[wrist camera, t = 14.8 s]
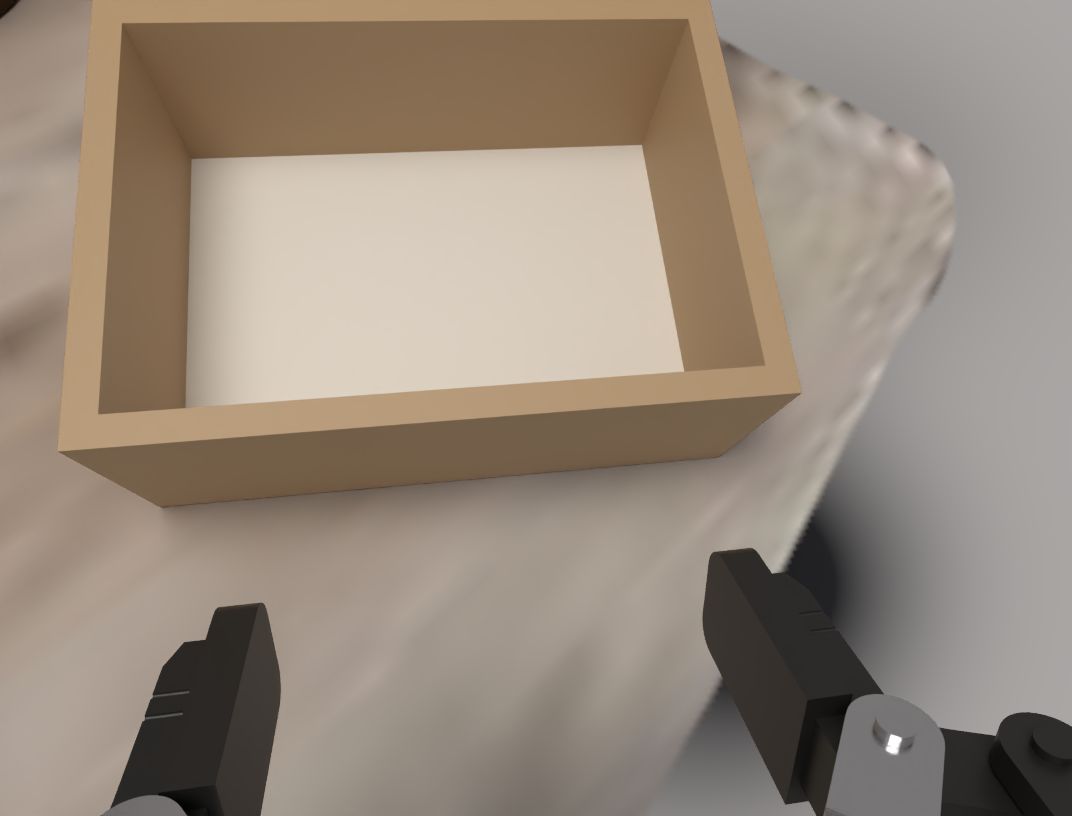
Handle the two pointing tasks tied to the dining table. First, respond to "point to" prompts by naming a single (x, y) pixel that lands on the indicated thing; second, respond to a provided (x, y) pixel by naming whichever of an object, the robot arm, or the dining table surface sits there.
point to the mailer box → (411, 246)
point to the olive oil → (5, 5)
